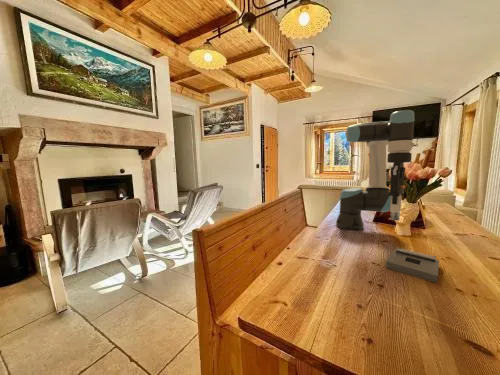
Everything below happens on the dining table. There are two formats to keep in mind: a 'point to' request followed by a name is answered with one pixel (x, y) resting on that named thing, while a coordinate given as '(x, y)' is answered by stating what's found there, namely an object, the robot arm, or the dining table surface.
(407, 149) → the robot arm
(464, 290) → the dining table surface
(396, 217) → the key
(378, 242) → the dining table surface
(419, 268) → the grey flat square block
